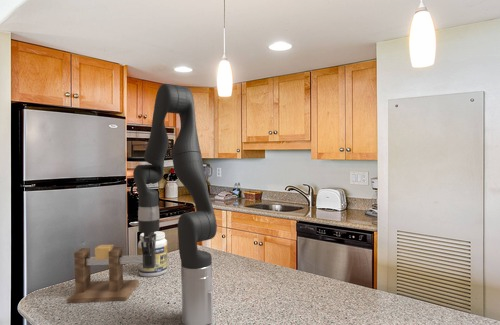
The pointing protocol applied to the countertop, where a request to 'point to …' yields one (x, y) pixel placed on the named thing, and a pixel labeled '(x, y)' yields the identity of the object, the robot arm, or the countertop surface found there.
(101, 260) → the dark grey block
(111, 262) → the wooden shaft stand
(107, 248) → the ochre spacer
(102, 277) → the countertop surface
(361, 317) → the countertop surface
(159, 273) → the supplement tub
